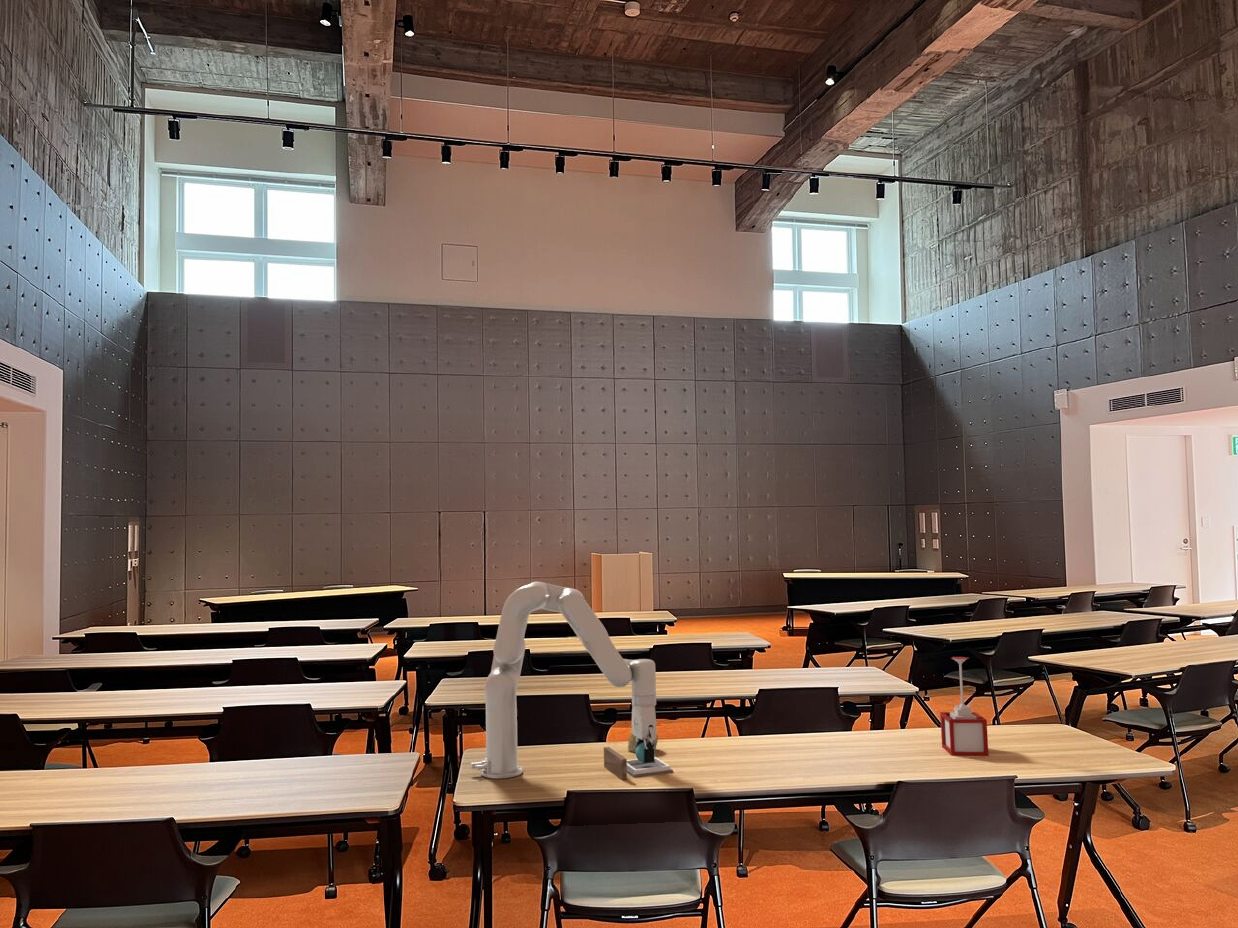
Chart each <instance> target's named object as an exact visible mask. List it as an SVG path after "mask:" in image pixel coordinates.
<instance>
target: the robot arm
mask: <svg viewBox="0 0 1238 928" xmlns="http://www.w3.org/2000/svg"><path fill="white" fill-rule="evenodd" d="M537 610H538V611H539V610H546V611H550V612H555V613H559V614H561V615H562V617H563V618H564V619H565V621H566V622H567V623H568V624H569V626H570V627H571V629H572V630H573V632H574V634H575V635H576V636H577V638H578V639H579V641H580V642H581V644H582V646H583V647H584V648H585V649H586V651H587V652H588V654H590V656H591V658H592V659H593V660H594V662H595V663H596V665H597V666H598V668H599V670H600V671H601V673H602V674H603V675H604V677H605V678H606V680H607V681H608V682H609V683H610V685H612V686H614V687H616V688H624V687H626V686H628V684H630V682H631V706H632V707H631V708H632V709H631V729H630V731H631V732H632V734H633V735H634V736H635V737H636V748H637V746H638V745H639V744H641V743H644V744H645V749H644V762H645V763H648V762H654V757H655V756H654V748H655V746H654V745H655V742H656V733H657V718H656V717H657V716H656V706H657V684H656V677H657V676H656V663H655V661H654V660H652V659H649V658H638V659H627V658H623V657H622V655H621V654H620V653H619V651H618V650H617V648H616V646H615V645H614V643H613V641H612V640H611V638H610V636H609V633H608V631H607V629H606V628H605V626H604V624H603V623H602V622H601V620H600V619H599V618H598V616H597V614H596V613H595V612H594V611H593V609H592V608H591V606H590V605H589V603H588V602H587V600H586V599H585V596H584V594H583V593H582V592H581V591H580V590H578V589H576V588H571V587H567V586H561V585H557V584H556V585H555V584H551V583H548V582H543V581H533V582H530V583H529V584H525V585H523V586H521V587H519V588H517V589H515V590H514V591H513V592H511V594H509V596H508V597H507V599H506V600H505V602H504V605H503V607H502V610H501V615H500V620H499V624H498V627H497V631H496V632H497V633H496V636H495V642H494V643H493V649H492V650H493V658H492V662H491V663H492V664H491V670H490V673H489V674H488V676H487V678H486V679H485V684H484V702H485V738H486V739H485V752H486V753H485V754H486V755H485V756H486V757H483V760H481V761H479V762H477V761H476V762H470V769H471V770H476V771H480V774H481V776H482V777H484V778H487V779H494V780H496V779H497V780H499V779H510V778H513V777H514V778H515V777H517V776H520V775H521V774H523V767H522V766H521V765H518V719H517V717H518V708H517V705H518V704H517V689H518V686H519V683H520V679H521V673H522V667H523V663H524V662H523V661H524V657H525V652H526V643H525V634H526V630H527V626H528V620H529V617H530V615H531V614H532V613H533V612H534V611H537ZM648 736H649V737H650V738H647V737H648ZM647 741H649V742H648V744H647Z"/></svg>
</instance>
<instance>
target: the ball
mask: <svg viewBox="0 0 1238 928" xmlns="http://www.w3.org/2000/svg"><path fill="white" fill-rule="evenodd" d="M647 744H648V743H647ZM644 749H645V744H644V743H641V744H639V745H638V746H637V748H636V753H635V757H636V759H638V760H639V761H641V762H643V763H645V762H644ZM654 757H656V750H654Z"/></svg>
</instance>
